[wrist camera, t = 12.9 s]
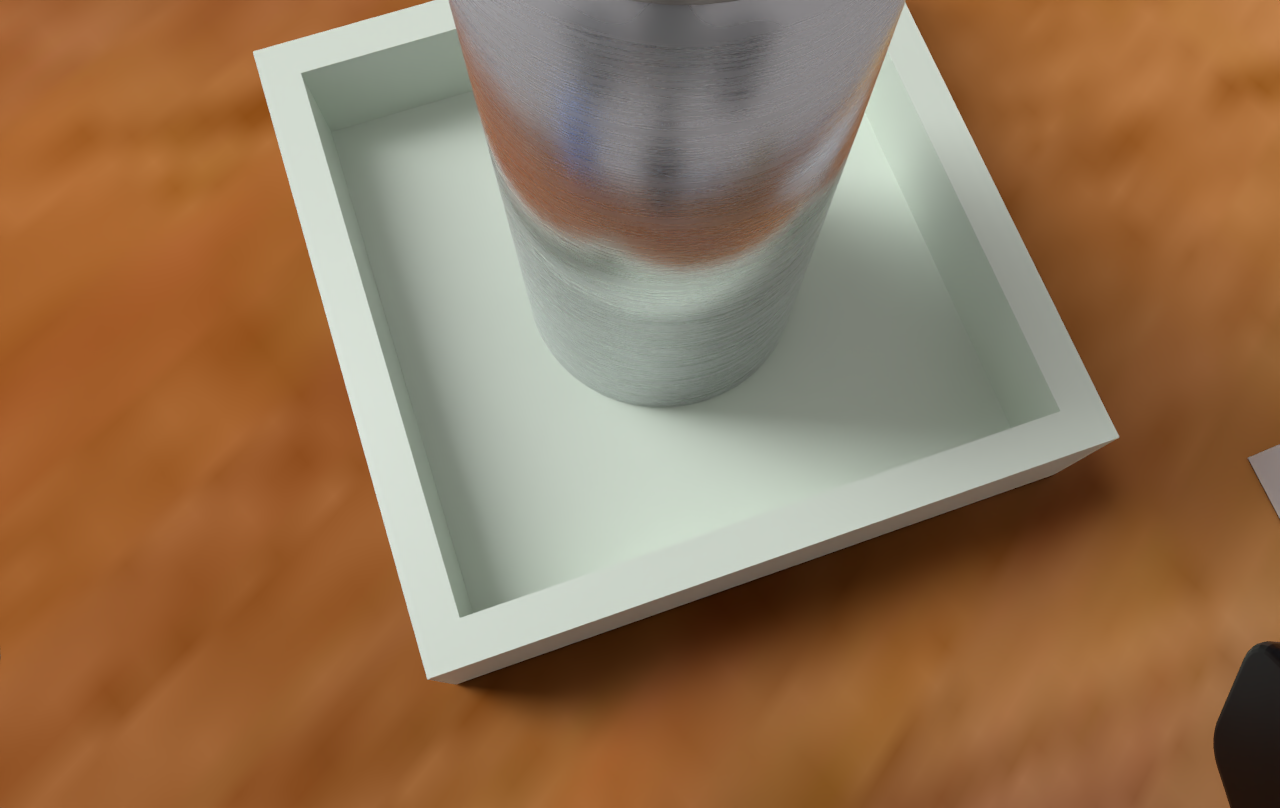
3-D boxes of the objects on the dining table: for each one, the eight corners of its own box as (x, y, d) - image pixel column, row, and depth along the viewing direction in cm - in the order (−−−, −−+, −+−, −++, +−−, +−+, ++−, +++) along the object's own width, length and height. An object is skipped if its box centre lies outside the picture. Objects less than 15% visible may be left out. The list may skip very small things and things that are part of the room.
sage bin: (1054, 474, 22) (1119, 437, 19) (456, 684, 20) (427, 678, 18) (822, -21, 25) (846, -116, 22) (298, 131, 24) (253, 51, 21)
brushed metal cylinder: (841, 246, 22) (1063, -273, 11) (701, 459, 21) (777, 131, 9) (624, 120, 23) (607, -489, 11) (475, 316, 22) (285, -149, 10)
